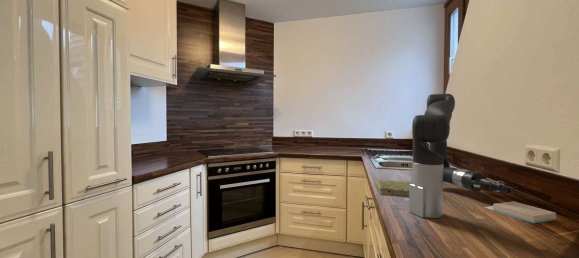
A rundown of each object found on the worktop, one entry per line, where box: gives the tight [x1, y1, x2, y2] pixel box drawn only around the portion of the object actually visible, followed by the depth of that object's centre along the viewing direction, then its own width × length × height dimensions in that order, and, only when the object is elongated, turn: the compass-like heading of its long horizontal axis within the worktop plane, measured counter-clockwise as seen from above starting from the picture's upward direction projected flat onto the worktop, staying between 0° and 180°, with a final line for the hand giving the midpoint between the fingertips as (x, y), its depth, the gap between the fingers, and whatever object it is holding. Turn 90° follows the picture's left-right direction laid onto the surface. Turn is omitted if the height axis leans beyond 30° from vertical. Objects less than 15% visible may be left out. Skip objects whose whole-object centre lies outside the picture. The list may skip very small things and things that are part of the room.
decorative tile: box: [374, 179, 412, 198], centre depth 117 cm, size 19×20×4 cm
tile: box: [492, 201, 557, 224], centre depth 87 cm, size 10×2×12 cm
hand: (512, 191), depth 90 cm, fingers closed
